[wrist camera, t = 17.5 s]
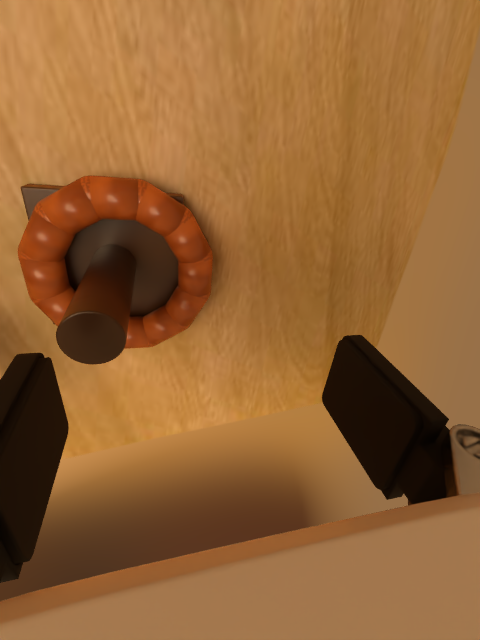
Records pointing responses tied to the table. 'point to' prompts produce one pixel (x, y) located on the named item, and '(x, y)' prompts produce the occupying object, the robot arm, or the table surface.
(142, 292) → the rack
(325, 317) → the table surface
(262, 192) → the table surface
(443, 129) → the table surface
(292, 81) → the table surface
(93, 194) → the ring
